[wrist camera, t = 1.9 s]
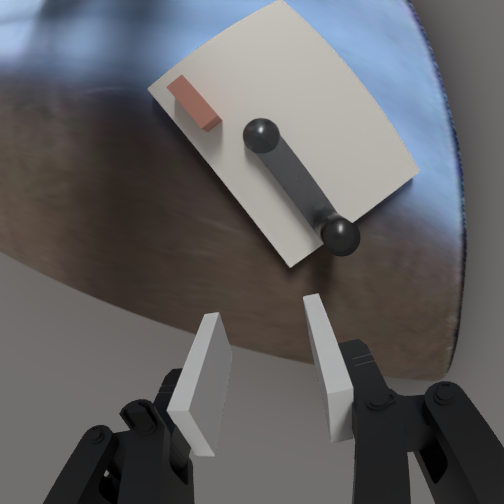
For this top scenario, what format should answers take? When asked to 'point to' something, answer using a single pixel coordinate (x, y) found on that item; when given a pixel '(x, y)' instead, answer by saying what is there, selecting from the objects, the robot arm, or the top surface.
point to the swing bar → (301, 187)
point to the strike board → (285, 122)
